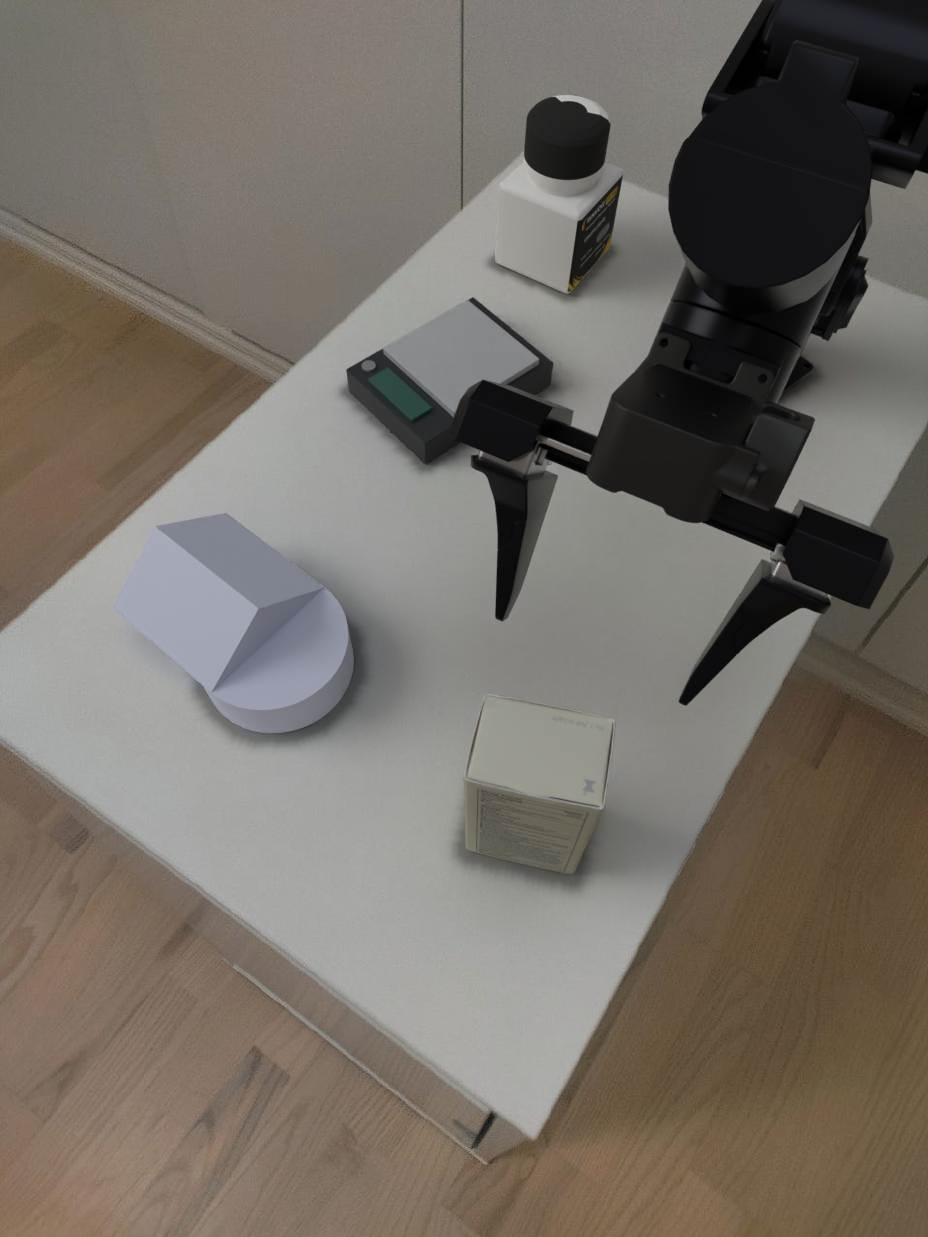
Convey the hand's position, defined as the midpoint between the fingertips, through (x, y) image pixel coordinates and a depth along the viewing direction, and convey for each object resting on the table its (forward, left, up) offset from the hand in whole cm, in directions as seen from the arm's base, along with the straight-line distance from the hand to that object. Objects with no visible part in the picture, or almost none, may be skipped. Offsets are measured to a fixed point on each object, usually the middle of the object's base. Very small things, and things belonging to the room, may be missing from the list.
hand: (589, 659), depth 40 cm
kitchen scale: (-13, -26, -12) cm, 31 cm away
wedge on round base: (+10, -17, -12) cm, 23 cm away
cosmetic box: (+5, +2, -12) cm, 13 cm away
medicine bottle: (-29, -32, -12) cm, 45 cm away
